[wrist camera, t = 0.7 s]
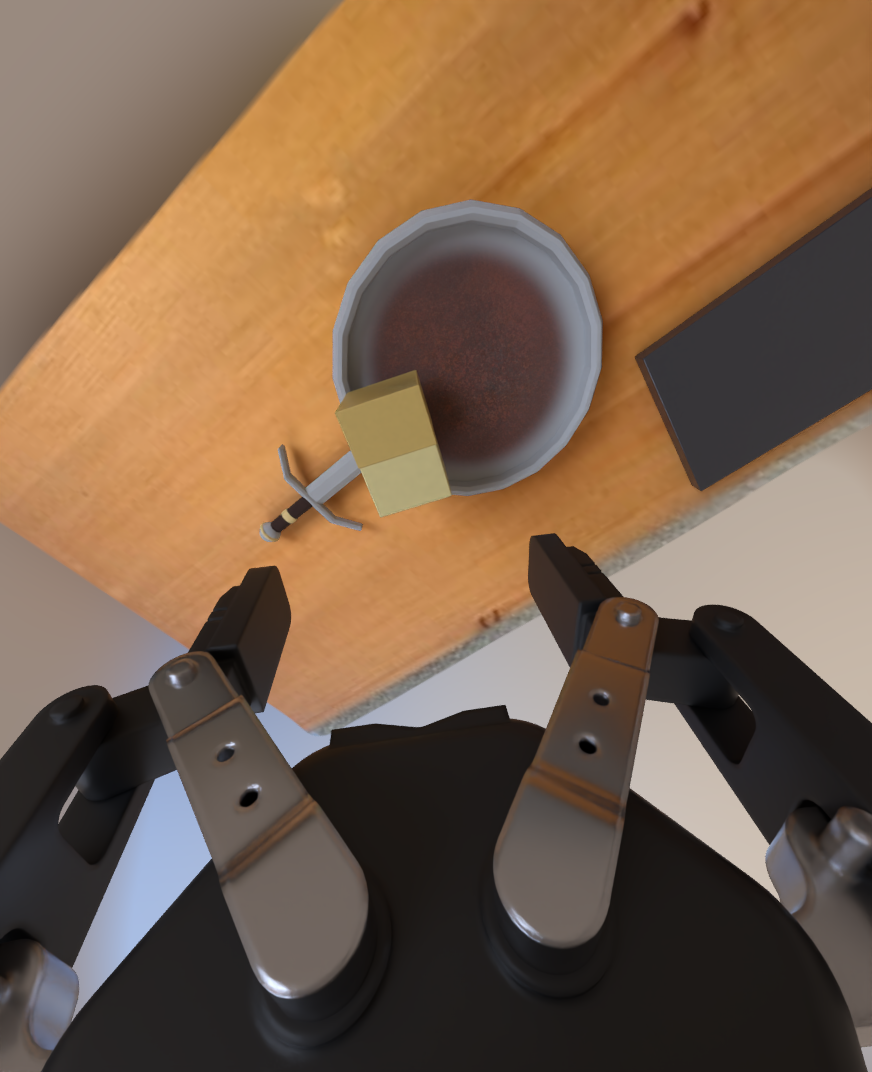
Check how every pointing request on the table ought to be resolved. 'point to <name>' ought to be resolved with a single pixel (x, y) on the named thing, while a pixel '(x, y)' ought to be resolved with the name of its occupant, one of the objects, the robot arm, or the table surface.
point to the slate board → (770, 351)
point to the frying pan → (468, 345)
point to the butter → (394, 443)
